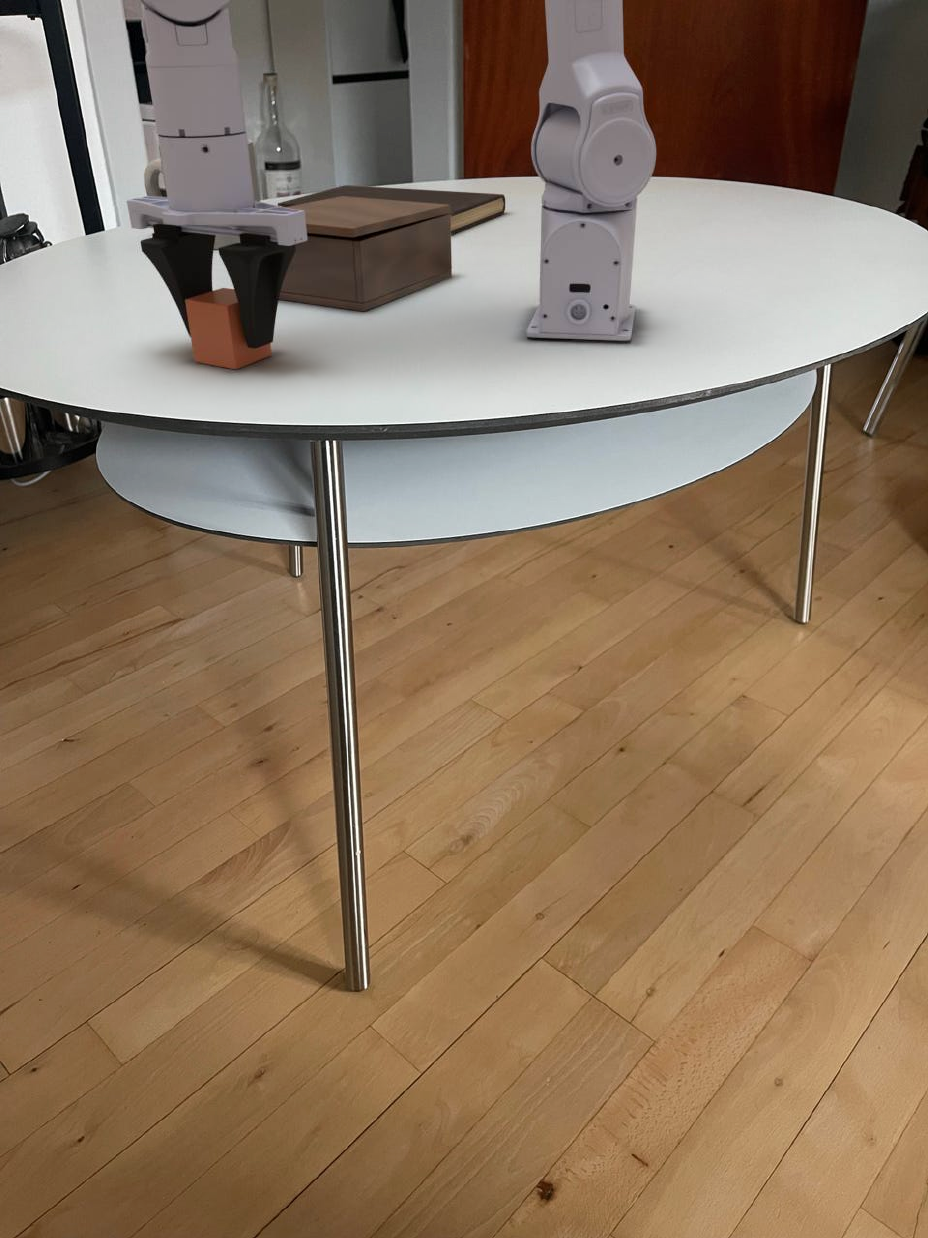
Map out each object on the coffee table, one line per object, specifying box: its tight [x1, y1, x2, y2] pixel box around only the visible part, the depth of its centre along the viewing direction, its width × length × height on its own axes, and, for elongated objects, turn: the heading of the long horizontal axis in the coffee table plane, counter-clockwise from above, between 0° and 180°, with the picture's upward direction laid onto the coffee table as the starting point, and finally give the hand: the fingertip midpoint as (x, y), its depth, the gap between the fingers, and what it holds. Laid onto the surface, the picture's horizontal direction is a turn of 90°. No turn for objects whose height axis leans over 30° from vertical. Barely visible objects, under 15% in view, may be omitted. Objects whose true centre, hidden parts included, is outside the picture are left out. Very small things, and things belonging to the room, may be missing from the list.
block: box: [185, 287, 273, 370], centre depth 72 cm, size 4×4×4 cm
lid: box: [285, 196, 451, 237], centre depth 88 cm, size 15×12×1 cm
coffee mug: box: [143, 138, 261, 250], centre depth 110 cm, size 13×10×10 cm
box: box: [279, 213, 453, 312], centre depth 90 cm, size 14×12×6 cm
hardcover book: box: [277, 184, 506, 236], centre depth 121 cm, size 16×23×2 cm
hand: (231, 339), depth 72 cm, fingers open, 5 cm apart
